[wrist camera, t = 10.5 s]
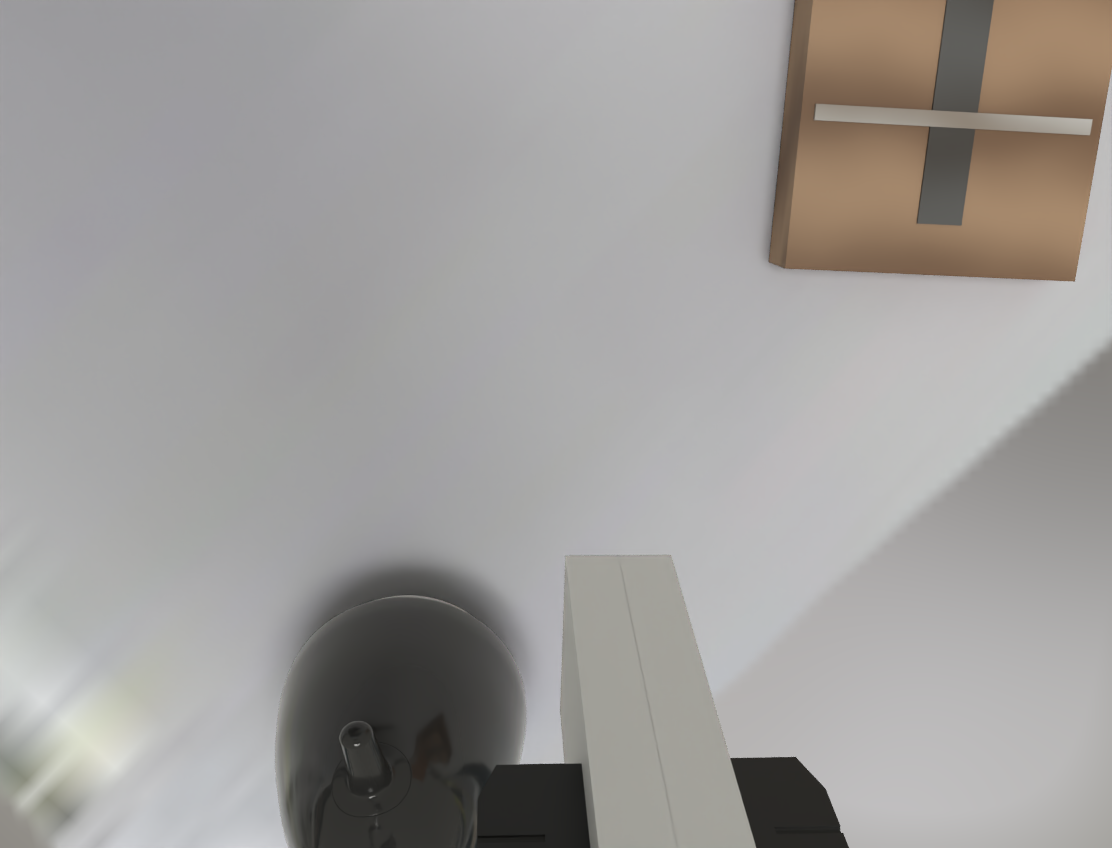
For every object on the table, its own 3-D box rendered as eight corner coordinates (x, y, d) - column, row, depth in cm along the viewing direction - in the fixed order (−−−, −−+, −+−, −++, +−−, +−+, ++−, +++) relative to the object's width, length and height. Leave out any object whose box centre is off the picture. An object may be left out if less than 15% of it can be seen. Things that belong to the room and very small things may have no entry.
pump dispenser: (508, 544, 46) (516, 725, 32) (535, 750, 49) (555, 1005, 34) (278, 574, 46) (180, 770, 31) (319, 779, 49) (245, 1049, 34)
